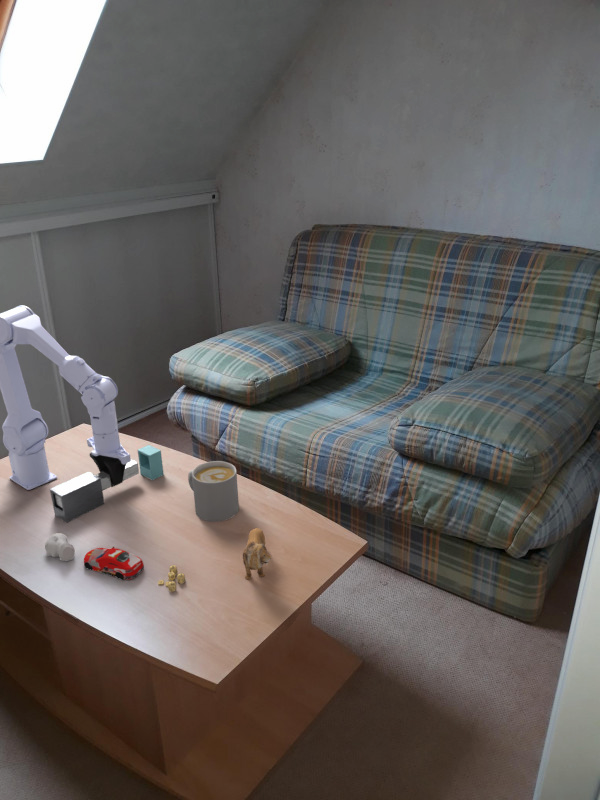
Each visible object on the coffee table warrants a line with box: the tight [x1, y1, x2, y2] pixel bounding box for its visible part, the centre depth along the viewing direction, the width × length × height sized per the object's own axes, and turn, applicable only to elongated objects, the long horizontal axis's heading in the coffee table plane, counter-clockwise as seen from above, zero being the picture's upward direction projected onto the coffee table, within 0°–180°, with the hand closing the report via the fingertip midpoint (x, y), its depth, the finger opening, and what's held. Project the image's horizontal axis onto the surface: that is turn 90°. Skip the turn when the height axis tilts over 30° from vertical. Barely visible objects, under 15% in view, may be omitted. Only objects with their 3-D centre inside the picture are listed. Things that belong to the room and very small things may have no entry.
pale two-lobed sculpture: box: [44, 532, 76, 562], centre depth 136 cm, size 4×8×5 cm
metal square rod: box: [55, 459, 140, 508], centre depth 155 cm, size 3×20×3 cm, turn 139°
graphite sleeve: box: [49, 471, 105, 524], centre depth 151 cm, size 5×10×7 cm, turn 140°
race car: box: [83, 546, 145, 581], centre depth 132 cm, size 13×5×4 cm, turn 65°
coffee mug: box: [187, 460, 240, 523], centre depth 151 cm, size 13×10×10 cm
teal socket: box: [137, 444, 164, 481], centre depth 165 cm, size 5×4×7 cm
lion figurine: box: [242, 527, 272, 580], centre depth 131 cm, size 15×5×9 cm, turn 8°
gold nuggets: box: [157, 564, 186, 593], centre depth 129 cm, size 5×5×2 cm
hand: (112, 480), depth 158 cm, fingers open, 4 cm apart
